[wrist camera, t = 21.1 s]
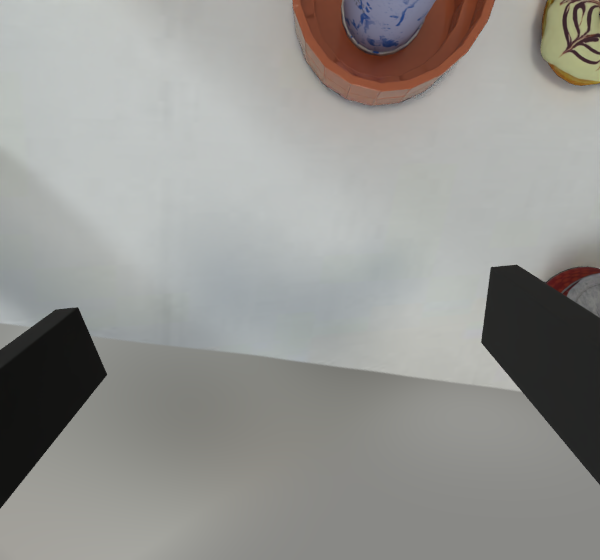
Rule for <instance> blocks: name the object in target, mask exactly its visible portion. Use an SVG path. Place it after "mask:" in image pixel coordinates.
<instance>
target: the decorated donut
mask: <svg viewBox="0 0 600 560" xmlns="http://www.w3.org/2000/svg"><path fill="white" fill-rule="evenodd" d="M599 12H600V0H548V1H547V3H546V6H545V9H544V14H543V19H542V41H541V47H540V49H541V55H542V57H543V58H544V60H546V61H547V62H548V64H549V65H550V67H551V68H552V69H553V71H554V72H555V73H556V74H557V75H558V76H559V77H561V78H563V79H564V80H566V81H567V82H569V83H571V84H574V85H580V86H583V85H591V84H598V83H600V18H599Z"/></svg>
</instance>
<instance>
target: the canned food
mask: <svg viewBox="0 0 600 560" xmlns="http://www.w3.org/2000/svg"><path fill="white" fill-rule="evenodd" d="M546 284H548V285H549V286H551V287H552V288H554V289H556V290H557V291H559V292H560V293H562V294H563V295H565V296H567V297H568V298H570V299H571V300H573V301H574V302H576V303H578V304H579V305H581V306H582V307H584V308H585V309H587V310H589V311H590V312H592V313H593V314H595V315H596V316H598V317H600V269H598V268H593V267H577V268H572V269H568V270H566V271H563V272H561V273H559V274H557V275H556V276H554V277H552V278H551V279H550V280H549V281H547V282H546Z"/></svg>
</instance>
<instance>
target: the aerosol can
mask: <svg viewBox="0 0 600 560" xmlns="http://www.w3.org/2000/svg"><path fill="white" fill-rule="evenodd" d="M435 1H436V0H342V5H341V14H342V24H343V26H344V29H345V31H346V34H347V36H348V38H349V39H350V40H351V41H352V43H353V44H354V45H355V46H356V47H357V48H358V49H360V50H362V51H363V52H365V53H367V54H370V55H376V56H385V55H391V54H394V53H396V52H398V51H400V50H402V49H404V48H405V47H406V46H407V45H408V44H409V43H410V42H411V41H412V40H413V39H414V38H415V37H416V36H417V34H418V32H419V30H420V29H421V27H422V25H423V23H424V21H425V17H426V16H427V14H428V12H429V11H430V9H431V7H432V6H433V4H434V2H435Z"/></svg>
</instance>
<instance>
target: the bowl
mask: <svg viewBox="0 0 600 560" xmlns="http://www.w3.org/2000/svg"><path fill="white" fill-rule="evenodd" d="M292 1H293V11H294V19H295V27H296V34H297V37H298V39H299V42H300V45H301V48H302V50H303V53H304V56H305V59H306V61H307V63H308V64H309V65H310V67H311V68H312V69H313V71H314V72H315V73H316V75H317V76H318V77H319V79H320V80H321V81H322V82H323V84H324V85H326V86H327V87H329V88H330V89H332V90H333V91H335V92H336V93H338V94H339V95H341V96H342V97H344V98H345V99H347V100H351V101H355V102H359V103H363V104H367V105H383V104H393V103H400V102H402V101H404V100H406V99H409V98H411V97H413V96H415V95H417V94H420V93H422V92H424V91H425V90H427V89H428V88H429V87H430V86H431V85H432V84H433V83H434V82H436V81H437V80H438V79H439V78H440V77H441V76H442V75H444V74H445V73H446V72H447V71H448V70H449V69H450V68H451V67H452V66H453V65H454V64H455V63H456V62H458V61H459V60H460V59H461V58H462V57H463V56H464V55H465V54H466V53H467V52H468V51H469V49H470V48H471V46H472V44H473V43H474V41H475V40H476V38H477V37H478V35H479V34H480V32H481V31H482V29H483V28H484V26H485V25H486V23H487V21H488V19H489V16H490V13H491V10H492V7H493V4H494V1H495V0H436V1H435V2H434V4H433V6H432V7H431V9H430V11H429V12H428V14H427V16H426V17H425V21H424V23H423V25H422V27H421V29H420V30H419V32H418V34H417V36H416V37H415V38H414V39H413V40H412V41H411V42H410V43H409V44H408V45H407V46H406V47H405V48H404V49H402V50H400V51H398V52H396V53H394V54H391V55H385V56H376V55H370V54H367V53H365V52H363V51H362V50H360V49H358V48H357V47H356V46H355V45H354V44H353V43H352V41H351V40H350V39H349V38H348V36H347V34H346V31H345V29H344V26H343V24H342V14H341V5H342V0H292Z"/></svg>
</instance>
